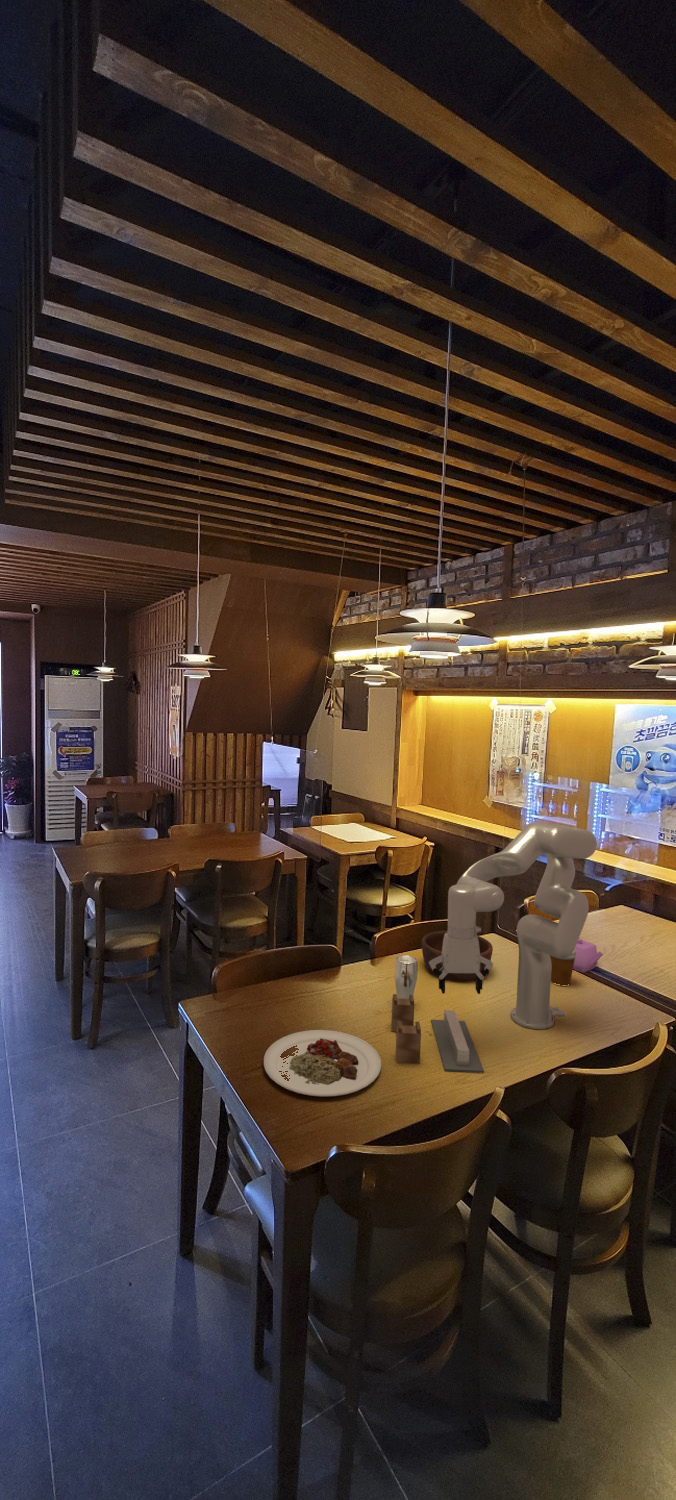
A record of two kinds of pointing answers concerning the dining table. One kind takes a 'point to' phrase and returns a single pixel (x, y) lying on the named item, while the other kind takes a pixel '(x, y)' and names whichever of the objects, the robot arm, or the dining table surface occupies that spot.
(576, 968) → the teapot
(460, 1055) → the rail
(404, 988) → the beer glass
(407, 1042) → the post
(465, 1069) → the mat
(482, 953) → the wooden bowl
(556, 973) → the disposable coffee cup
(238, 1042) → the dining table surface
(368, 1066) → the plated food
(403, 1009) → the post
